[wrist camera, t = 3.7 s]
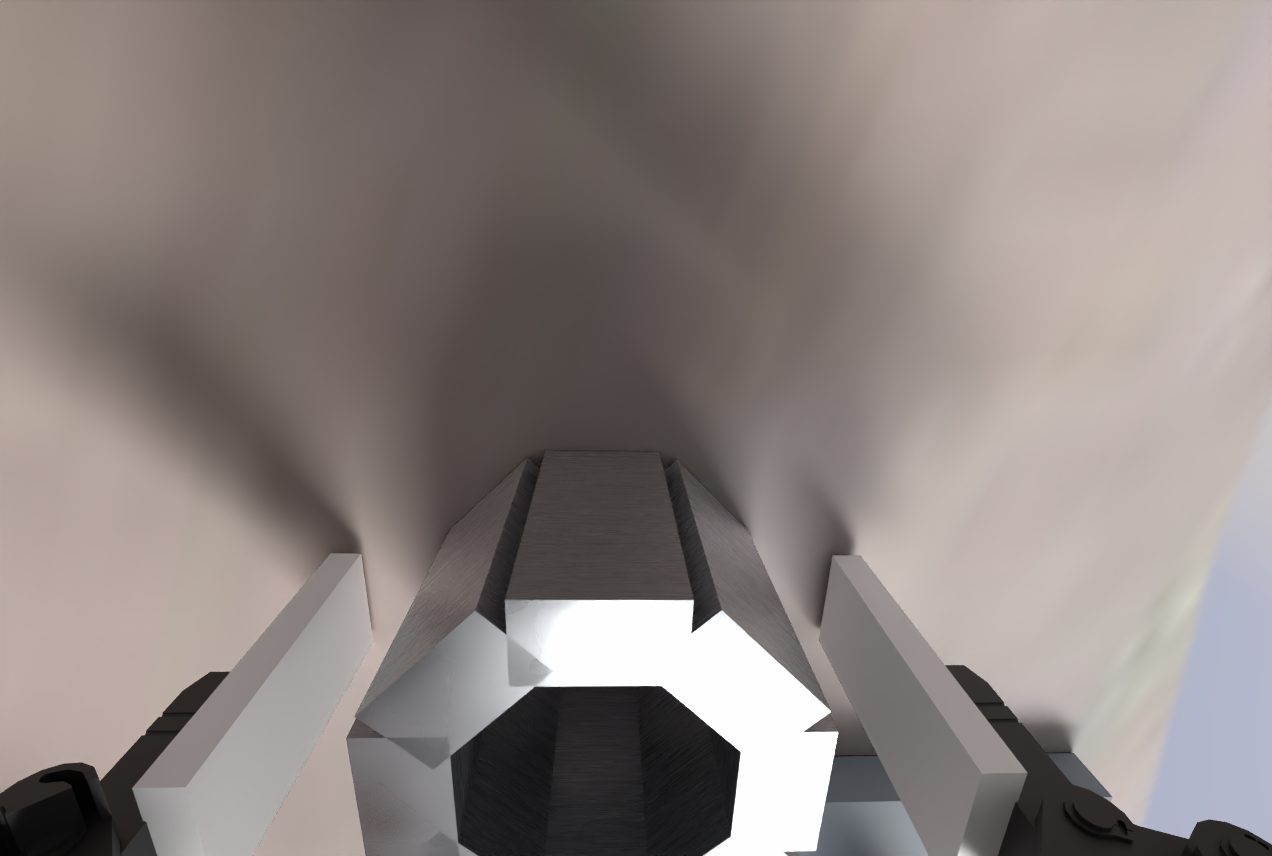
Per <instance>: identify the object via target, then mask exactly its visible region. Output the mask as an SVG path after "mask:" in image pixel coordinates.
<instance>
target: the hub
mask: <svg viewBox="0 0 1272 856" xmlns="http://www.w3.org/2000/svg"><path fill="white" fill-rule="evenodd" d="M830 712H831V710H830V708H829V705H828V703H827V701H826V699H825V697H824V695H823V692H822V690H821V688H820V686H819V684H818V682H817V679H816V677H815V675H814V673H813V671H812V669H811V666H810V664H809V662H808V660H807V658H806V655H805V653H804V651H803V649H802V647H801V645H800V642H799V640H798V638H797V636H796V634H795V632H794V629H793V627H792V625H791V623H790V621H789V619H788V616H787V614H786V612H785V610H784V608H783V605H782V603H781V601H780V599H779V597H778V595H777V592H776V590H775V588H774V586H773V584H772V582H771V579H770V577H769V575H768V573H767V571H766V569H765V566H764V564H763V562H762V560H761V558H760V556H759V553H758V551H757V549H756V547H755V545H754V542H753V540H752V538H751V536H750V534H749V532H748V530H747V529H746V528H745V527H744V526H743V525H742V524H741V523H740V522H739V521H738V520H737V519H736V518H735V517H734V516H733V515H732V514H731V513H730V512H729V511H728V510H727V509H726V508H725V507H724V506H723V505H722V504H721V503H720V502H719V501H718V500H717V499H716V498H715V497H714V496H713V495H712V494H711V493H710V492H709V491H708V490H707V489H706V488H705V487H704V486H703V485H702V484H701V483H700V482H699V481H698V480H697V479H696V478H695V477H694V476H693V475H692V474H691V473H690V472H689V471H688V470H687V469H686V468H685V467H684V466H683V465H682V464H681V463H680V462H679V461H678V460H676V461H674V462H673V463H672V464H671V465H670V466H669V467H667V468H666V469H665V470H664V469H663V464H662V460H661V456H660V452H608V451H545V454H544V457H543V461H542V465H541V468H539V467H538V466H536V465H535V464H534V463H533V462H532V461H531V460H530V459H529V458H528V457H527V458H526V459H525V460H524V461H523V462H522V463H521V464H520V465H519V466H517V467H516V468H515V469H514V470H513V471H512V472H511V473H510V474H509V475H508V476H507V477H506V478H505V479H503V480H502V481H501V482H500V483H499V484H498V485H497V486H496V487H495V488H494V489H493V490H492V491H491V492H489V493H488V494H487V495H486V496H485V497H484V498H483V499H482V500H481V501H480V502H479V503H478V504H477V505H476V506H474V507H473V508H472V509H471V510H470V511H469V512H468V513H467V514H466V515H465V516H464V517H463V518H462V519H460V520H459V521H458V522H457V523H456V524H455V525H454V526H453V527H452V528H451V529H450V531H449V533H448V535H447V537H446V539H445V541H444V543H443V545H442V547H441V549H440V551H439V553H438V554H437V556H436V558H435V560H434V562H433V564H432V566H431V568H430V570H429V572H428V574H427V576H426V578H425V580H424V582H423V584H422V586H421V588H420V590H419V592H418V594H417V595H416V597H415V599H414V601H413V603H412V605H411V607H410V609H409V611H408V613H407V615H406V617H405V619H404V621H403V623H402V625H401V627H400V629H399V631H398V633H397V635H396V637H395V638H394V640H393V642H392V644H391V646H390V648H389V650H388V652H387V654H386V656H385V658H384V660H383V662H382V664H381V666H380V668H379V670H378V672H377V674H376V676H375V678H374V679H373V681H372V683H371V685H370V687H369V689H368V691H367V693H366V695H365V697H364V699H363V701H362V703H361V705H360V707H359V709H358V711H357V713H356V715H355V717H356V720H355V722H354V724H353V726H352V728H351V730H350V732H349V734H348V736H347V738H346V740H347V746H348V752H349V758H350V764H351V770H352V776H353V782H354V788H355V794H356V800H357V806H358V812H359V818H360V824H361V830H362V836H363V842H364V848H365V854H366V856H799V854H798V851H816V846H817V840H818V835H819V830H820V825H821V820H822V814H823V809H824V804H825V799H826V793H827V788H828V783H829V778H830V772H831V767H832V762H833V757H834V752H835V746H836V741H837V736H838V731H837V728H836V726H835V724H834V722H833V720H832V717H831V715H830Z"/></svg>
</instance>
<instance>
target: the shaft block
mask: <svg viewBox="0 0 1272 856" xmlns="http://www.w3.org/2000/svg"><path fill="white" fill-rule="evenodd" d="M1047 755H1048V756H1049V757H1050V758H1051V759H1052V761H1053V762H1054V763H1055V764H1056V765H1057V767H1058V768H1059V769H1060V770H1061V771H1062V773H1063V774H1064V775H1065V776H1066V777H1067V779H1068V780H1069V781H1070V782H1071V783H1072V784H1073V785H1076V786H1079V787H1082V788H1086V789H1089V790H1091V791H1093V792H1094V793H1096V794H1098V795H1100V796H1102V797H1104V798H1105V799H1107V800H1109V801H1110V802H1111V799H1112V796H1111V795H1110V794H1109V793H1108V791H1107V790H1106V789H1105V788H1104V787H1103V786H1102V785H1101V784H1100V782H1099V781H1098V780H1097V779H1096V778H1095V777H1094V776H1093V774H1092V773H1091V772H1090V771H1089V770H1088V769H1087V768H1086V766H1085V765H1084V764H1083V763H1082V762H1081V761H1080V760H1079V759H1078V757H1077V756H1076V755H1075V754H1074V753H1047ZM798 854H799V856H929V855H928V853H927V851H926V849H925V847H924V845H923V843H922V841H921V839H920V837H919V835H918V833H917V831H916V829H915V827H914V825H913V824H912V822H911V820H910V818H909V816H908V814H907V812H906V810H905V808H904V806H903V804H902V802H901V800H900V798H899V796H898V794H897V792H896V790H895V788H894V786H893V784H892V782H891V780H890V779H889V777H888V775H887V773H886V771H885V769H884V767H883V765H882V763H881V761H880V759H879V757H878V756H845V757H833V762H832V767H831V772H830V778H829V783H828V788H827V793H826V799H825V804H824V809H823V814H822V820H821V825H820V830H819V835H818V840H817V846H816V851H798Z"/></svg>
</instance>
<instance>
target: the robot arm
mask: <svg viewBox="0 0 1272 856" xmlns="http://www.w3.org/2000/svg"><path fill="white" fill-rule="evenodd" d="M819 642H820V644H821V645H822V647H823V649H824V651H825V653H826V655H827V657H828V659H829V661H830V663H831V665H832V667H833V669H834V671H835V673H836V675H837V677H838V679H839V681H840V683H841V685H842V687H843V689H844V690H845V692H846V694H847V696H848V698H849V700H850V702H851V704H852V706H853V708H854V710H855V712H856V714H857V716H858V718H859V720H860V722H861V724H862V726H863V728H864V730H865V732H866V734H867V735H868V737H869V739H870V741H871V743H872V745H873V747H874V749H875V751H876V753H877V755H878V757H879V759H880V761H881V763H882V765H883V767H884V769H885V771H886V773H887V775H888V777H889V779H890V780H891V782H892V784H893V786H894V788H895V790H896V792H897V794H898V796H899V798H900V800H901V802H902V804H903V806H904V808H905V810H906V812H907V814H908V816H909V818H910V820H911V822H912V824H913V825H914V827H915V829H916V831H917V833H918V835H919V837H920V839H921V841H922V843H923V845H924V847H925V849H926V851H927V853H928V855H929V856H1272V845H1271V844H1270V843H1268V842H1266V841H1265V840H1263V839H1261V838H1260V837H1258V836H1256V835H1254V834H1253V833H1251V832H1249V831H1247V830H1245V829H1242V828H1240V827H1237V826H1235V825H1232V824H1230V823H1227V822H1221V821H1215V820H1206V821H1201V822H1197V824H1196V826H1195V828H1194V830H1193V832H1192V834H1191V836H1190V838H1189V839H1186V838H1182V837H1178V836H1174V835H1170V834H1167V833H1163V832H1159V831H1155V830H1151V829H1148V828H1144V827H1140V826H1137V825H1134V824H1133V823H1132V822H1131V821H1130V820H1129V818H1128V817H1127V816H1126V815H1125V813H1123V812H1122V811H1121V810H1120V809H1118V808H1117V807H1116V806H1115V805H1114V804H1112V803H1111V802H1110V801H1109V800H1107V799H1105V798H1104V797H1102V796H1100V795H1098V794H1096V793H1094V792H1093V791H1091V790H1089V789H1086V788H1082V787H1079V786H1076V785H1073V784H1072V783H1071V782H1070V781H1069V780H1068V779H1067V777H1066V776H1065V775H1064V774H1063V773H1062V771H1061V770H1060V769H1059V768H1058V767H1057V765H1056V764H1055V763H1054V762H1053V761H1052V759H1051V758H1050V757H1049V756H1048V755H1047V753H1046V752H1045V751H1044V750H1043V749H1042V747H1041V746H1040V745H1039V744H1038V743H1037V741H1036V740H1035V739H1034V738H1033V737H1032V735H1031V734H1030V733H1029V732H1028V731H1027V729H1026V728H1025V727H1024V726H1023V725H1022V723H1018V719H1017V717H1016V716H1015V715H1014V714H1013V713H1012V711H1011V710H1010V709H1009V708H1008V707H1007V706H1004V702H1003V701H1002V699H1001V698H1000V697H999V696H998V695H997V693H996V692H995V691H994V690H993V689H992V687H991V686H990V685H989V684H988V683H987V682H986V681H985V680H983V679H982V678H981V677H979V676H978V675H976V674H975V673H974V672H972V671H971V670H970V669H968V668H967V667H966V666H964V665H944V664H943V662H942V661H941V660H940V658H939V657H938V656H937V654H936V653H935V652H934V651H933V649H932V648H931V647H930V645H929V644H928V643H927V641H926V640H925V639H924V638H923V636H922V635H921V634H920V632H919V631H918V630H917V628H916V627H915V626H914V625H913V623H912V622H911V621H910V619H909V618H908V617H907V615H906V614H905V613H904V612H903V610H902V609H901V608H900V606H899V605H898V604H897V602H896V601H895V600H894V599H893V597H892V596H891V595H890V593H889V592H888V591H887V589H886V588H885V587H884V586H883V584H882V583H881V582H880V580H879V579H878V578H877V576H876V575H875V574H874V573H873V571H872V570H871V569H870V567H869V566H868V565H867V563H866V562H865V561H864V560H863V558H862V557H861V556H842V555H833V556H832V562H831V569H830V575H829V581H828V587H827V593H826V599H825V605H824V612H823V618H822V624H821V630H820V636H819ZM372 643H373V637H372V630H371V622H370V615H369V608H368V600H367V593H366V586H365V578H364V571H363V564H362V556H361V554H353V553H330V555H329V556H328V557H327V558H326V559H325V561H324V562H323V563H322V564H321V565H320V566H319V568H318V569H317V570H316V571H315V572H314V574H313V575H312V576H311V577H310V578H309V580H308V581H307V582H306V583H305V584H304V585H303V587H302V588H301V589H300V590H299V591H298V593H297V594H296V595H295V596H294V597H293V598H292V600H291V601H290V602H289V603H288V604H287V606H286V607H285V608H284V609H283V610H282V611H281V613H280V614H279V615H278V616H277V617H276V619H275V620H274V621H273V622H272V623H271V624H270V626H269V627H268V628H267V629H266V630H265V632H264V633H263V634H262V635H261V636H260V637H259V639H258V640H257V641H256V642H255V643H254V645H253V646H252V647H251V648H250V649H249V651H248V652H247V653H246V654H245V655H244V656H243V658H242V659H241V660H240V661H239V662H238V664H237V665H236V666H235V667H234V668H233V669H232V671H231V672H210V673H208V674H207V675H205V676H204V677H202V678H201V679H199V680H198V681H196V682H195V683H194V684H192V685H191V686H189V687H188V688H186V689H185V690H183V691H182V692H181V693H180V694H179V696H178V697H177V698H176V699H175V700H174V701H173V702H172V703H171V704H170V705H169V706H168V708H167V709H166V710H165V711H164V712H163V715H162V717H158V719H157V720H156V721H155V722H154V723H153V724H152V725H151V726H150V727H149V728H148V729H147V731H146V734H145V735H144V736H141V737H140V738H139V739H138V740H137V742H136V743H135V744H134V745H133V746H132V747H131V748H130V749H129V750H128V751H127V752H126V754H125V755H124V756H123V757H122V758H121V759H120V760H119V761H118V762H117V763H116V765H115V766H114V767H113V768H112V769H111V770H110V771H109V772H108V773H107V774H106V775H105V777H104V778H103V779H102V780H101V781H100V780H99V778H98V775H97V773H96V770H95V768H94V767H93V766H90V765H87V764H84V763H68V764H61V765H58V766H55V767H51V768H48V769H45V770H41V771H39V772H37V773H35V774H33V775H31V776H29V777H27V778H25V779H23V780H21V781H18V782H17V783H15V784H14V785H12V786H11V787H9V788H8V789H7V790H5V791H4V792H2V793H1V794H0V856H253V855H254V853H255V852H256V850H257V848H258V846H259V844H260V843H261V841H262V839H263V837H264V836H265V834H266V832H267V830H268V828H269V827H270V825H271V823H272V821H273V820H274V818H275V816H276V814H277V812H278V811H279V809H280V807H281V805H282V804H283V802H284V800H285V798H286V796H287V795H288V793H289V791H290V789H291V788H292V786H293V784H294V782H295V780H296V779H297V777H298V775H299V773H300V771H301V770H302V768H303V766H304V764H305V763H306V761H307V759H308V757H309V755H310V754H311V752H312V750H313V748H314V747H315V745H316V743H317V741H318V739H319V738H320V736H321V734H322V732H323V731H324V729H325V727H326V725H327V723H328V722H329V720H330V718H331V716H332V715H333V713H334V711H335V709H336V707H337V706H338V704H339V702H340V700H341V699H342V697H343V695H344V693H345V691H346V690H347V688H348V686H349V684H350V682H351V681H352V679H353V677H354V675H355V674H356V672H357V670H358V668H359V666H360V665H361V663H362V661H363V659H364V658H365V656H366V654H367V652H368V650H369V649H370V647H371V645H372Z"/></svg>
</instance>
